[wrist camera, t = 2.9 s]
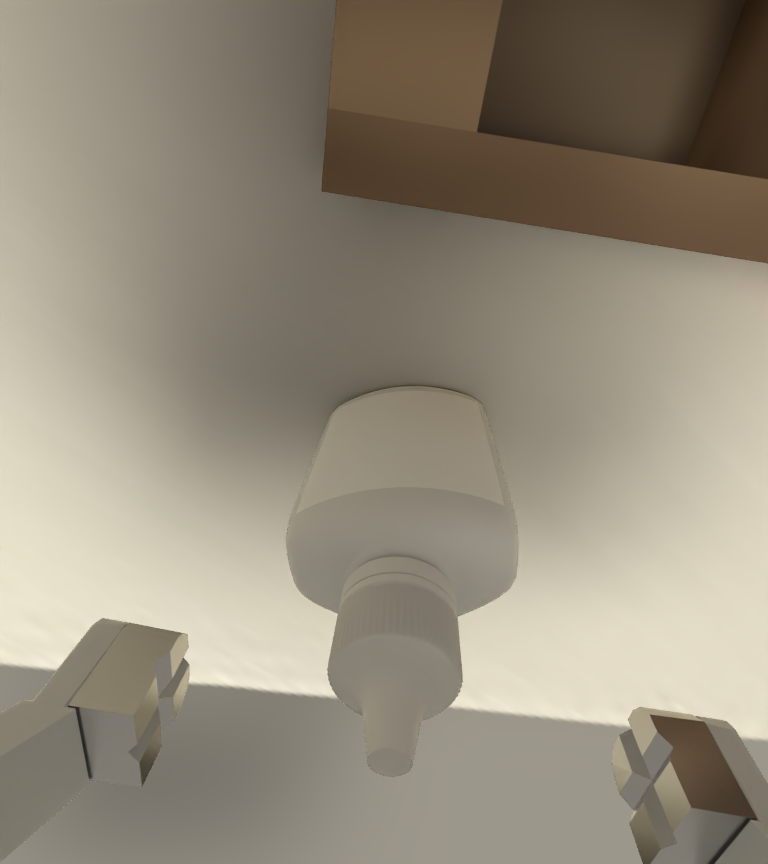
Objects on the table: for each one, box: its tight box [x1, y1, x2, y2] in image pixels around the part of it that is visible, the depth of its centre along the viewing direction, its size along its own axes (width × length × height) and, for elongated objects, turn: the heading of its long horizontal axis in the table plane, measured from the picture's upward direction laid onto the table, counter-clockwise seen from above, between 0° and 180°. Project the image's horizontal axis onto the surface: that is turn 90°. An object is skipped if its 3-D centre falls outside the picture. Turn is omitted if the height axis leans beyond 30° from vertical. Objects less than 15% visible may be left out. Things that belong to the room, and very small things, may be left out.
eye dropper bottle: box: [286, 386, 518, 777], centre depth 13 cm, size 4×6×12 cm
